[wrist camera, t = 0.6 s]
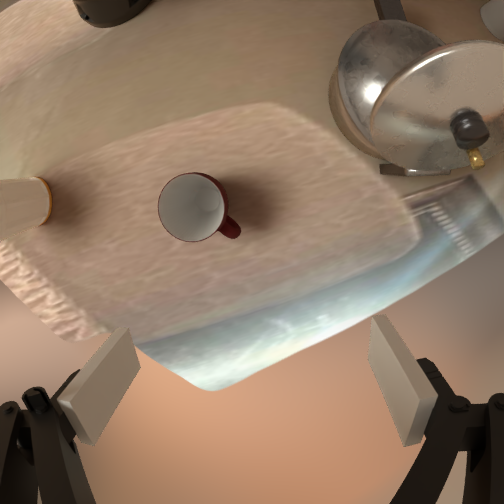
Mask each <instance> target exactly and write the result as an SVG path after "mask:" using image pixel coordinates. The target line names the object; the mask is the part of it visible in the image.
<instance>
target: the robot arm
mask: <svg viewBox="0 0 504 504" xmlns="http://www.w3.org/2000/svg"><path fill="white" fill-rule="evenodd" d="M150 1H151V0H73V2H74V4H75V7H76V9H77V11H78V13H79V15H80V17H81V18H82V19H83V20H84V21H86V22H87V23H89V24H90V25H92V26H94V27H98V28H107V27H112V26H116V25H118V24H121V23H123V22H125V21H127V20H129V19H131V18H132V17H134V16H135V15H136V14H138V13H139V12H140V11H141V10H143V9H144V8H145V7H146V6H147V5H148V3H149V2H150ZM369 344H370V345H369V354H368V361H369V363H370V365H371V368H372V370H373V372H374V375H375V377H376V379H377V382H378V384H379V386H380V389H381V391H382V394H383V396H384V398H385V401H386V403H387V406H388V408H389V411H390V413H391V416H392V418H393V420H394V423H395V426H396V428H397V431H398V433H399V436H400V438H401V441H402V444H403V446H404V447H406V446H410V445H414V444H418V443H420V442H421V440H422V437H423V435H425V437H426V440H425V442H424V444H423V446H422V449H421V451H420V452H419V454H418V456H417V458H416V460H415V462H414V464H413V466H412V467H411V469H410V471H409V473H408V474H407V476H406V478H405V480H404V481H403V483H402V485H401V486H400V488H399V489H398V491H397V493H396V494H395V496H394V497H393V499H392V501H391V502H390V504H435V503H436V502H437V500H438V498H439V495H440V493H441V491H442V489H443V487H444V485H445V482H446V480H447V478H448V475H449V473H450V471H451V469H452V466H453V464H454V461H455V458H456V456H457V453H458V451H467V465H466V477H465V486H464V495H463V502H462V504H504V393H497V394H494V395H493V396H491V398H490V399H489V401H488V403H486V404H471V403H470V401H469V400H468V399H467V398H464V397H462V396H457V395H455V394H454V392H453V390H452V389H451V388H450V386H449V384H448V383H447V382H446V380H445V379H444V377H442V374H441V373H440V371H438V368H437V367H436V366H435V364H434V363H433V362H431V361H430V360H428V359H427V358H422V359H417V360H416V359H415V358H414V356H413V355H412V353H411V352H410V350H409V349H408V347H407V346H406V344H405V343H404V341H403V340H402V338H401V337H400V335H399V334H398V332H397V331H396V329H395V328H394V326H393V325H392V323H391V322H390V320H389V319H388V318H387V316H386V315H377V316H372V322H371V333H370V343H369ZM140 368H141V367H140V364H139V361H138V357H137V354H136V351H135V347H134V344H133V341H132V337H131V334H130V330H129V328H117V329H116V330H115V331H114V332H113V333H112V334H111V335H110V337H109V338H108V339H107V340H106V341H105V342H104V343H103V345H102V346H101V347H100V348H99V349H98V350H97V351H96V353H95V354H94V355H93V356H92V357H91V359H90V360H89V361H88V362H87V363H86V364H85V366H84V367H83V368H82V369H81V370H80V369H79V370H77V371H76V372H74V373H73V374H71V375H70V376H69V378H68V379H67V380H66V382H64V383H63V385H62V386H61V387H60V388H59V390H58V391H57V392H56V393H55V394H54V395H53V397H52V398H51V399H49V397H48V395H47V393H46V391H45V389H44V388H42V387H33V388H30V389H28V390H27V391H26V392H24V394H23V395H22V400H23V402H24V403H25V405H26V407H27V409H28V410H21V409H20V407H19V405H18V404H17V403H16V402H14V401H9V402H6V403H4V404H2V405H1V406H0V504H37V498H38V486H39V490H40V496H41V500H42V504H96V502H95V499H94V497H93V494H92V492H91V489H90V486H89V484H88V481H87V478H86V475H85V472H84V469H83V466H82V463H81V459H80V456H79V453H78V450H77V446H76V443H75V442H74V440H73V438H74V437H75V435H77V436H78V438H79V439H80V441H81V443H85V444H89V445H92V446H95V444H96V442H97V440H98V439H99V437H100V435H101V434H102V432H103V430H104V428H105V427H106V425H107V423H108V422H109V420H110V418H111V416H112V415H113V413H114V411H115V409H116V408H117V406H118V405H119V403H120V401H121V399H122V398H123V396H124V394H125V393H126V391H127V389H128V388H129V386H130V384H131V383H132V381H133V379H134V378H135V376H136V375H137V373H138V371H139V370H140ZM17 443H18V445H17Z"/></svg>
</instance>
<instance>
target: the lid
mask: <svg viewBox="0 0 504 504" xmlns="http://www.w3.org/2000/svg"><path fill="white" fill-rule="evenodd" d="M370 131H371V135H372V139H373V142H374V144H375V147H376V149H377V151H378V152H379V153H380V155H381V156H383V157H384V158H385V159H386V160H387V161H389V162H391V163H392V164H395V165H397V166H399V167H403V168H404V172H405V175H406V176H419V175H449V174H450V171H451V170H450V169H455V168H460V167H464V166H468V165H471V166H472V169H473V170H479V169H481V168H483V167H484V166H485V163H484V161H483V160H486V159H488V158H490V157H493V156H495V155H496V154H498V153H500V152H502V151H504V44H502V43H498V42H494V41H487V40H465V41H460V42H454V43H450V44H447V45H444V46H441V47H437V48H435V49H433V50H431V51H429V52H426V53H424V54H422V55H421V56H419V57H417V58H416V59H414V60H413V61H411V62H410V63H408V64H407V65H406V66H404V67H403V68H402V69H401V70H399V71H398V72H397V73H396V74H395V75H394V76H393V77H392V78H391V79H390V80H389V81H388V83H387V84H386V85H385V86H384V88H383V89H382V90H381V92H380V93H379V95H378V97H377V99H376V100H375V103H374V105H373V108H372V111H371V115H370Z"/></svg>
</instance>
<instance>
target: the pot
mask: <svg viewBox="0 0 504 504" xmlns="http://www.w3.org/2000/svg"><path fill="white" fill-rule="evenodd" d="M374 3H375V7H376V10H377V13H378V17H379V21H375V22H372V23H369V24H367V25H365V26H363V27H361V28H360V29H358V30H357V31H356V32H355V33H354V34H352V36H351V37H350V38H349V39H348V41H347V42H346V44H345V46H344V48H343V49H342V51H341V54H340V57H339V61H338V65H337V67H336V69H335V70H334V72H333V74H332V77H331V80H330V84H329V104H330V109H331V112H332V115H333V118H334V120H335V122H336V124H337V126H338V127H339V129H340V131H341V132H342V133H343V135H344V136H345V137H346V138H347V139H348V140H349V141H350V142H351V143H352V144H353V145H354V146H355V147H357V148H358V149H359V150H361V151H363V152H364V153H366V154H368V155H370V156H372V157H375V158H378V159H383V160H386V159H385V158H384V157H383V156H381V155H380V153H379V152H378V151H377V149H376V147H375V144H374V142H373V139H372V135H371V131H370V115H371V111H372V108H373V105H374V103H375V100H376V99H377V97H378V95H379V93H380V92H381V90H382V89H383V88H384V86H385V85H386V84H387V83H388V81H389V80H390V79H391V78H392V77H393V76H394V75H395V74H396V73H397V72H398V71H399V70H401V69H402V68H403V67H404V66H406V65H407V64H408V63H410V62H411V61H413V60H414V59H416V58H417V57H419V56H421V55H422V54H424V53H426V52H429V51H431V50H433V49H435V48H437V47H441V46H444V45H446V44H445V43H444V42H443V41H442V40H441V39H440V38H438V37H437V36H435V35H434V34H433V33H431V32H430V31H428V30H426V29H424V28H422V27H420V26H418V25H416V24H413V23H409V22H407V20H406V17H405V14H404V11H403V8H402V5H401V2H400V0H374ZM379 165H380V174H387V175H399V176H406V175H405V172H404V168H403V167H399V166H397V165H395V164H379ZM419 176H423V175H419Z"/></svg>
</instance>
